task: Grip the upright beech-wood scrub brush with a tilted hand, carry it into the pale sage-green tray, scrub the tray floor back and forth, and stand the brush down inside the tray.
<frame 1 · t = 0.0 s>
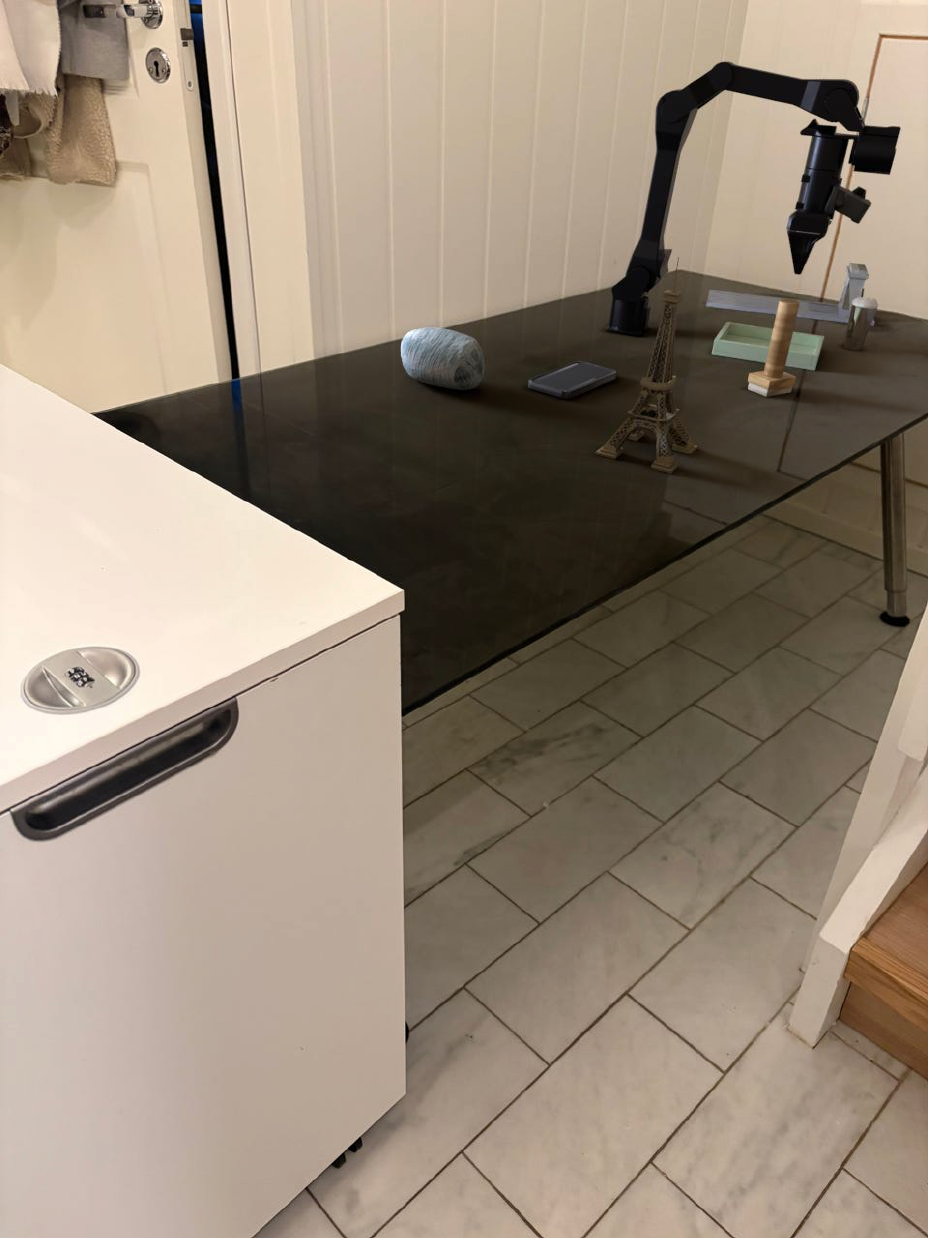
hand: (800, 268, 162), 15 cm above the table, tool pointing down, fingers open, 9 cm apart
tray: (767, 352, 170), on the table
phone: (572, 383, 150), on the table
eiffel tower: (646, 452, 128), on the table
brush: (769, 390, 152), on the table
monument: (787, 309, 198), on the table
milkshake: (851, 348, 176), on the table
blue yarn skein: (441, 385, 147), on the table
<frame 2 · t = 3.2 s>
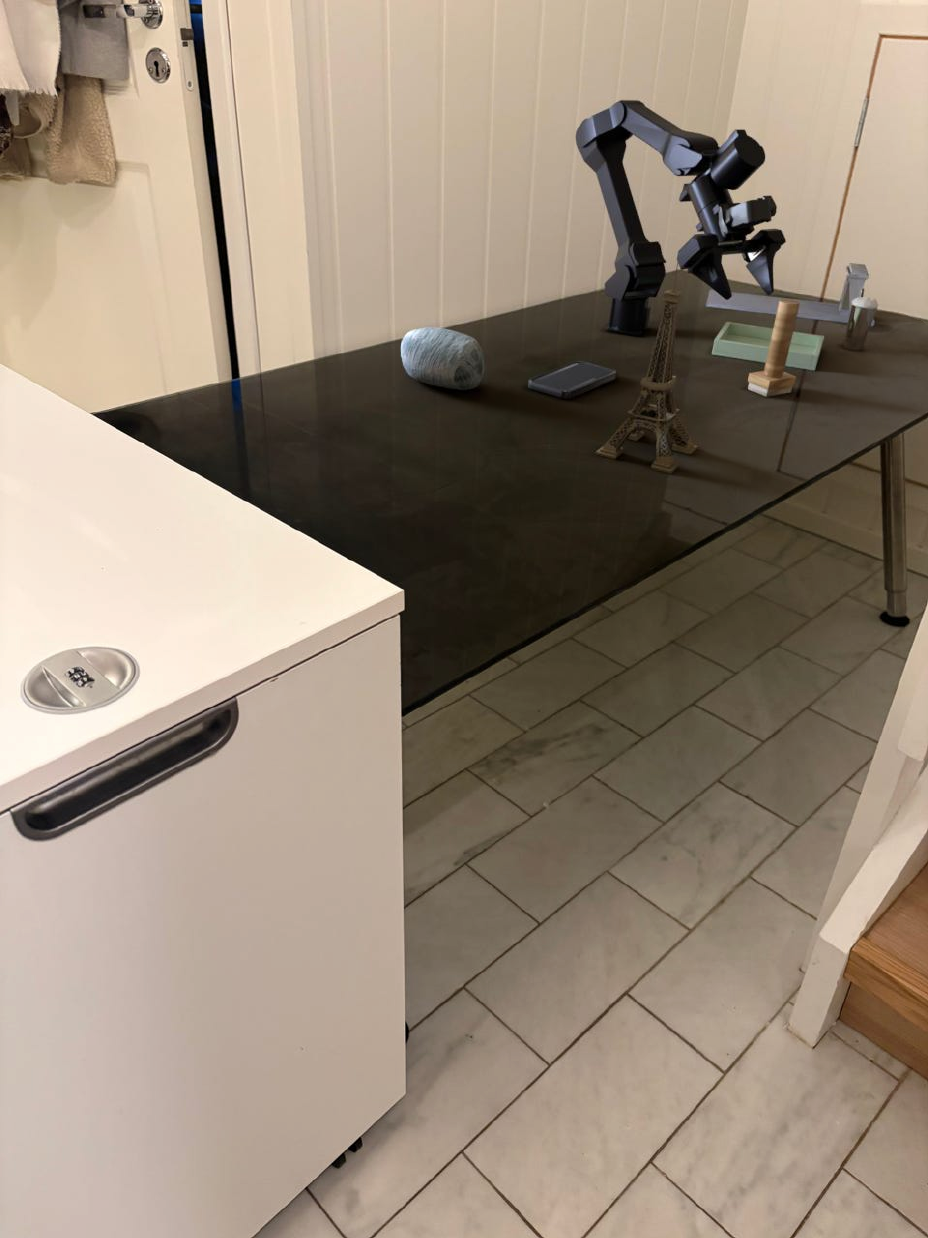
hand: (750, 295, 151), 13 cm above the table, tool tilted 45°, fingers open, 9 cm apart
nothing on the table moved.
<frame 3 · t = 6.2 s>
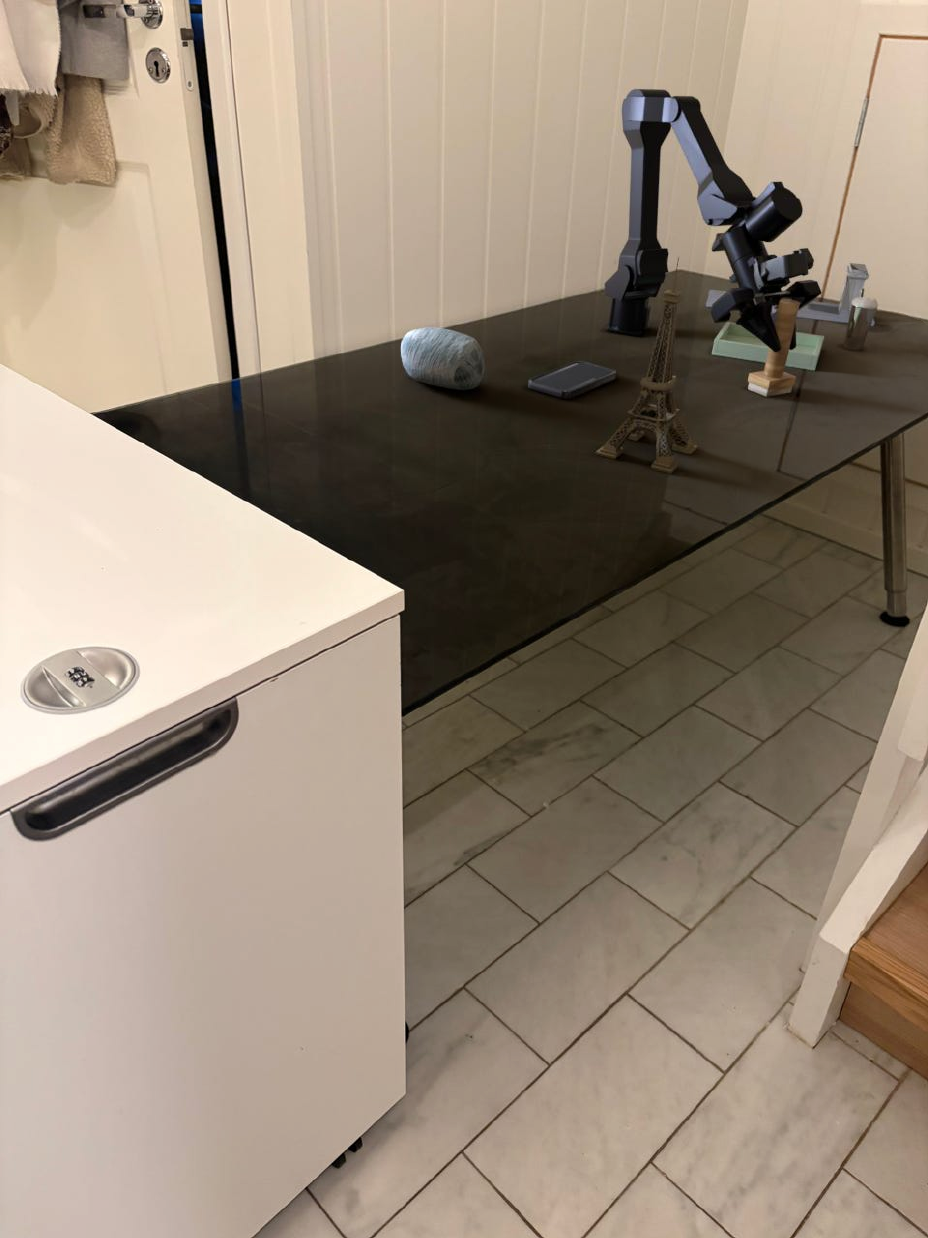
hand: (785, 349, 147), 7 cm above the table, tool tilted 45°, fingers closed on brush, 3 cm apart
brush: (769, 390, 152), on the table, touching gripper
everything else where it was.
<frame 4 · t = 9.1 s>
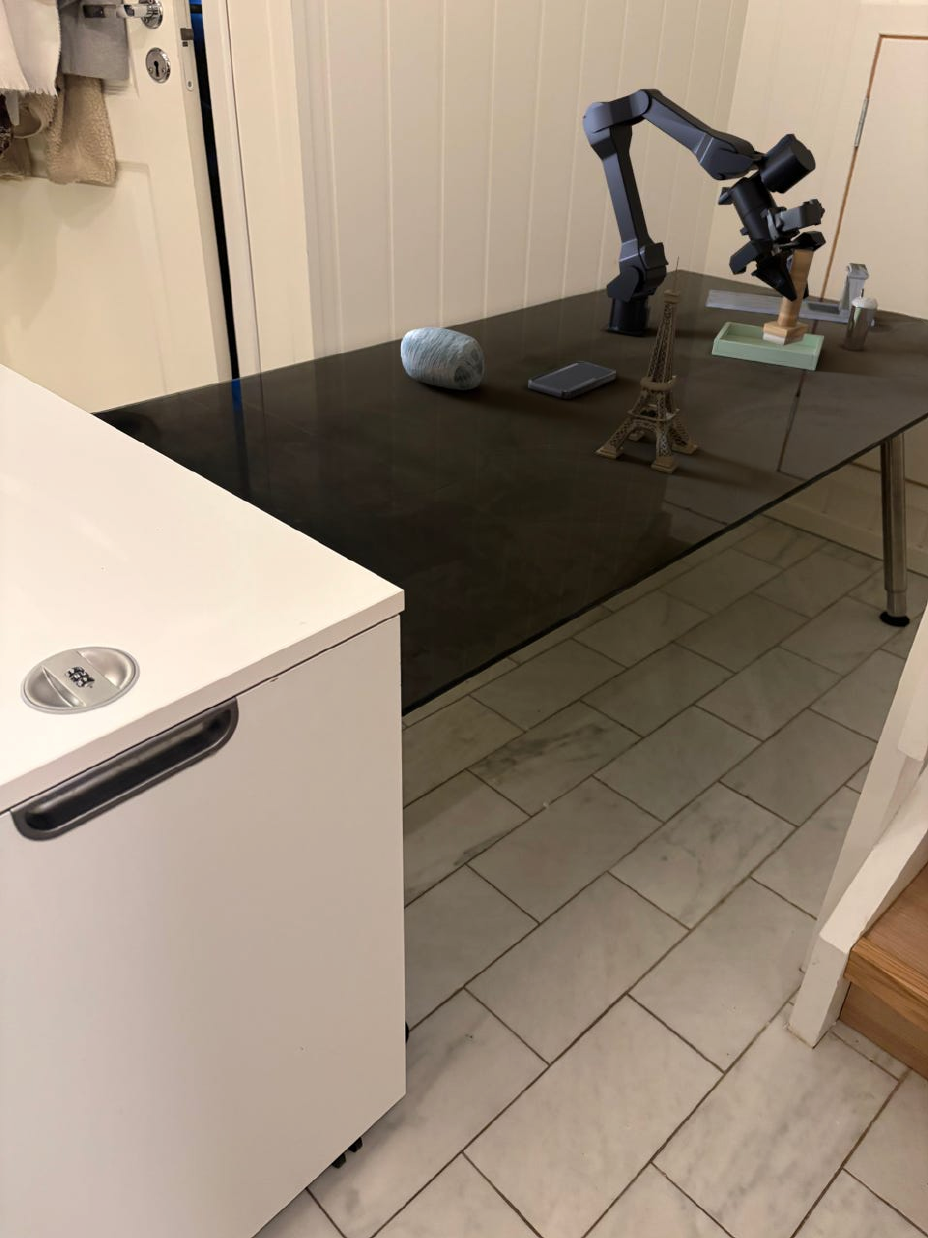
hand: (800, 298, 152), 13 cm above the table, tool tilted 45°, fingers closed on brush, 3 cm apart
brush: (782, 339, 157), point 6 cm above the table, touching gripper
everything else where it was.
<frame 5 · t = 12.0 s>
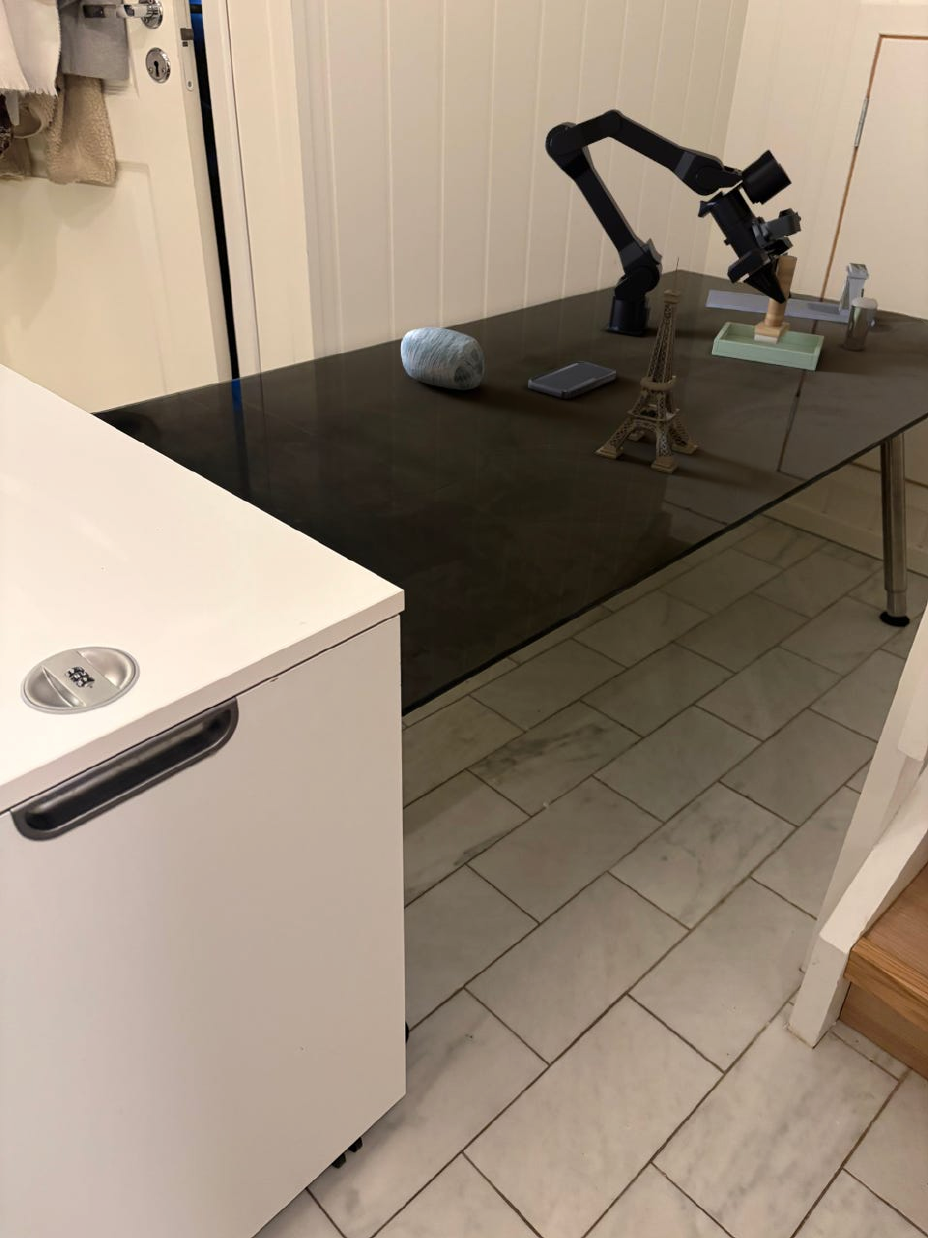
hand: (786, 300, 165), 9 cm above the table, tool tilted 45°, fingers closed on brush, 3 cm apart
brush: (769, 339, 169), point 2 cm above the table, touching gripper
everything else where it was.
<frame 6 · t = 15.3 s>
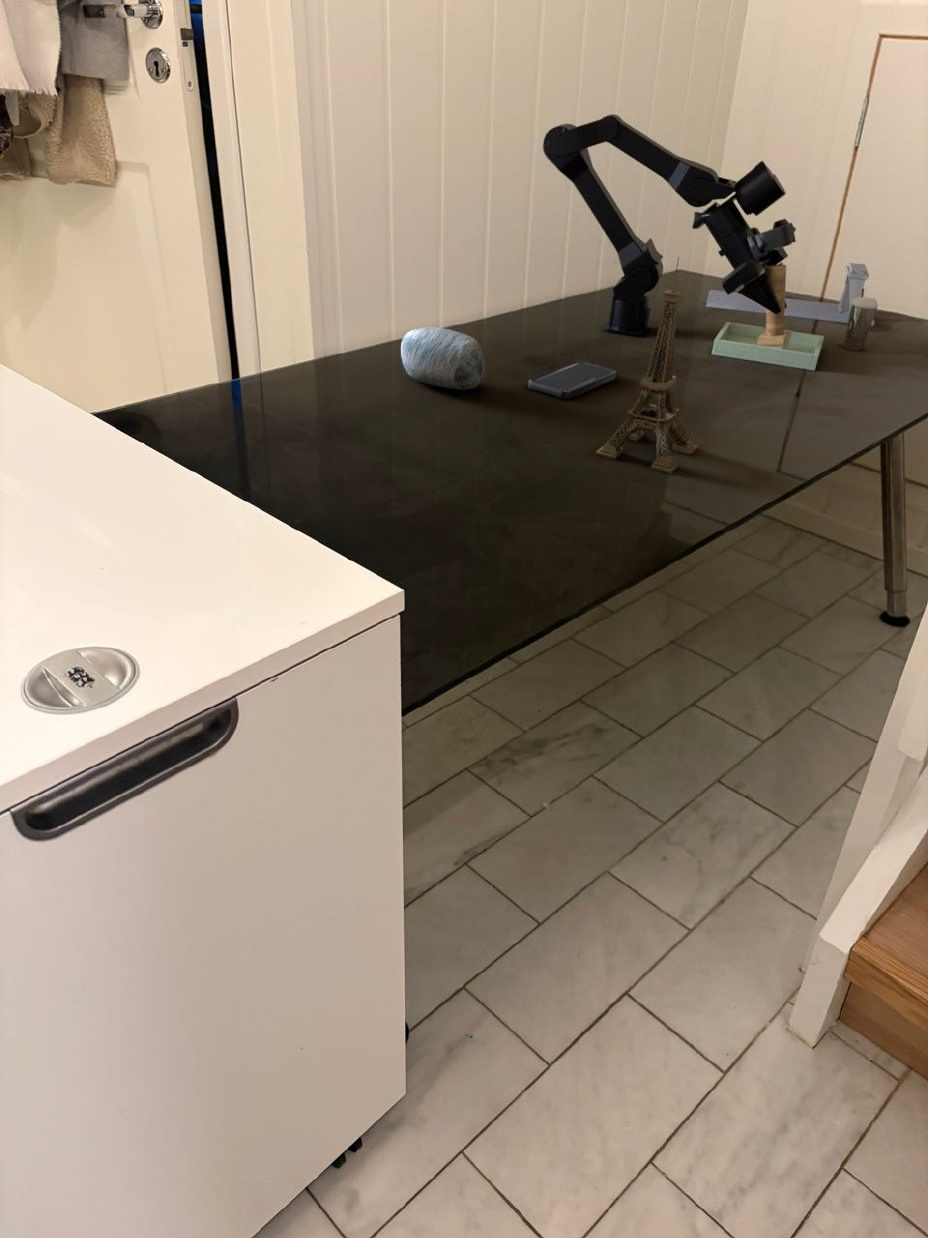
hand: (781, 310, 165), 8 cm above the table, tool tilted 45°, fingers closed on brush, 3 cm apart
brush: (774, 348, 169), point 1 cm above the table, tilted 11°, touching gripper
everything else where it was.
when the fingers open (8 cm above the table, at t = 17.9 s): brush stays where it is, resting on tray.
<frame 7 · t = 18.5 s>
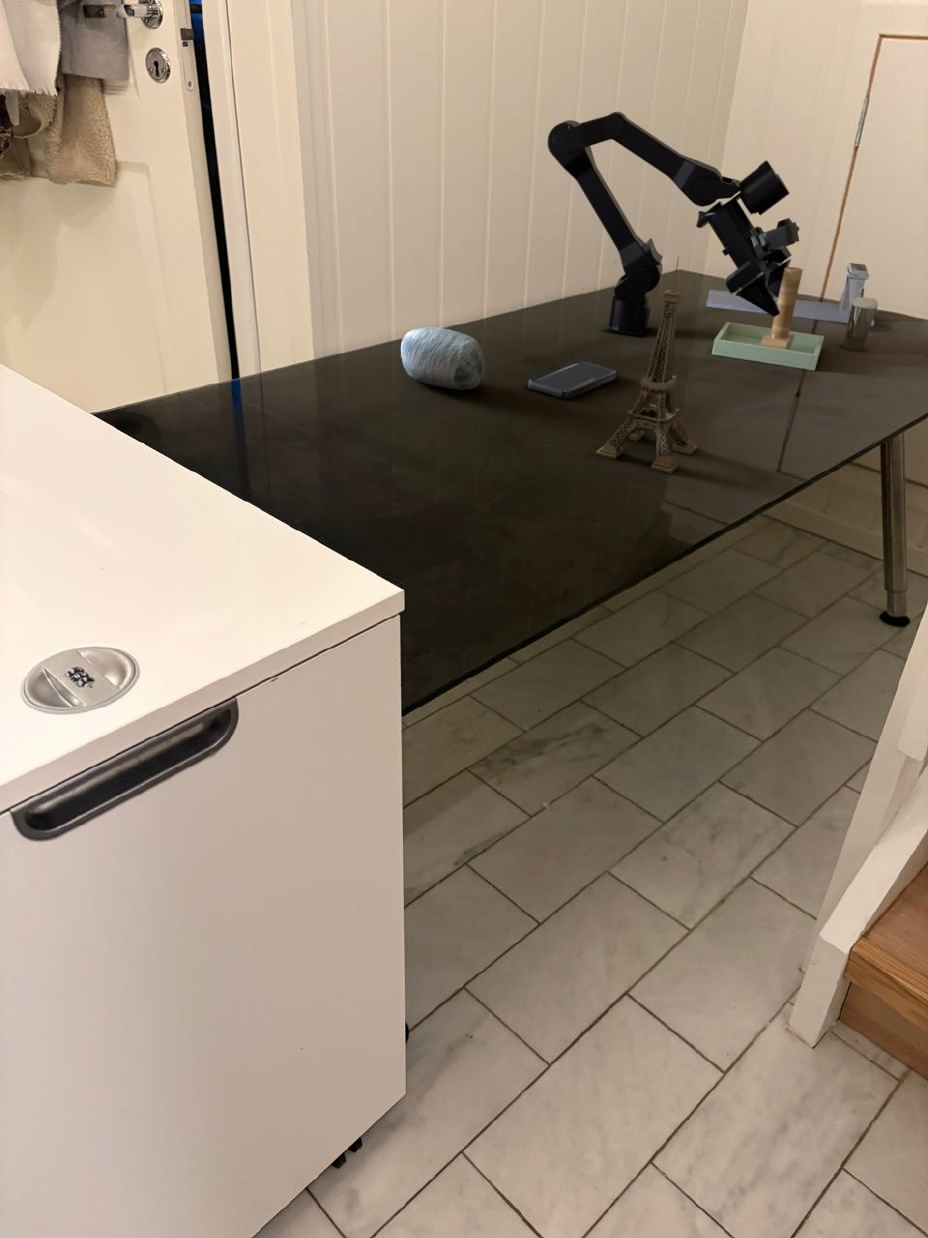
hand: (785, 309, 165), 8 cm above the table, tool tilted 45°, fingers open, 9 cm apart
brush: (775, 350, 169), point 1 cm above the table, touching tray
everything else where it was.
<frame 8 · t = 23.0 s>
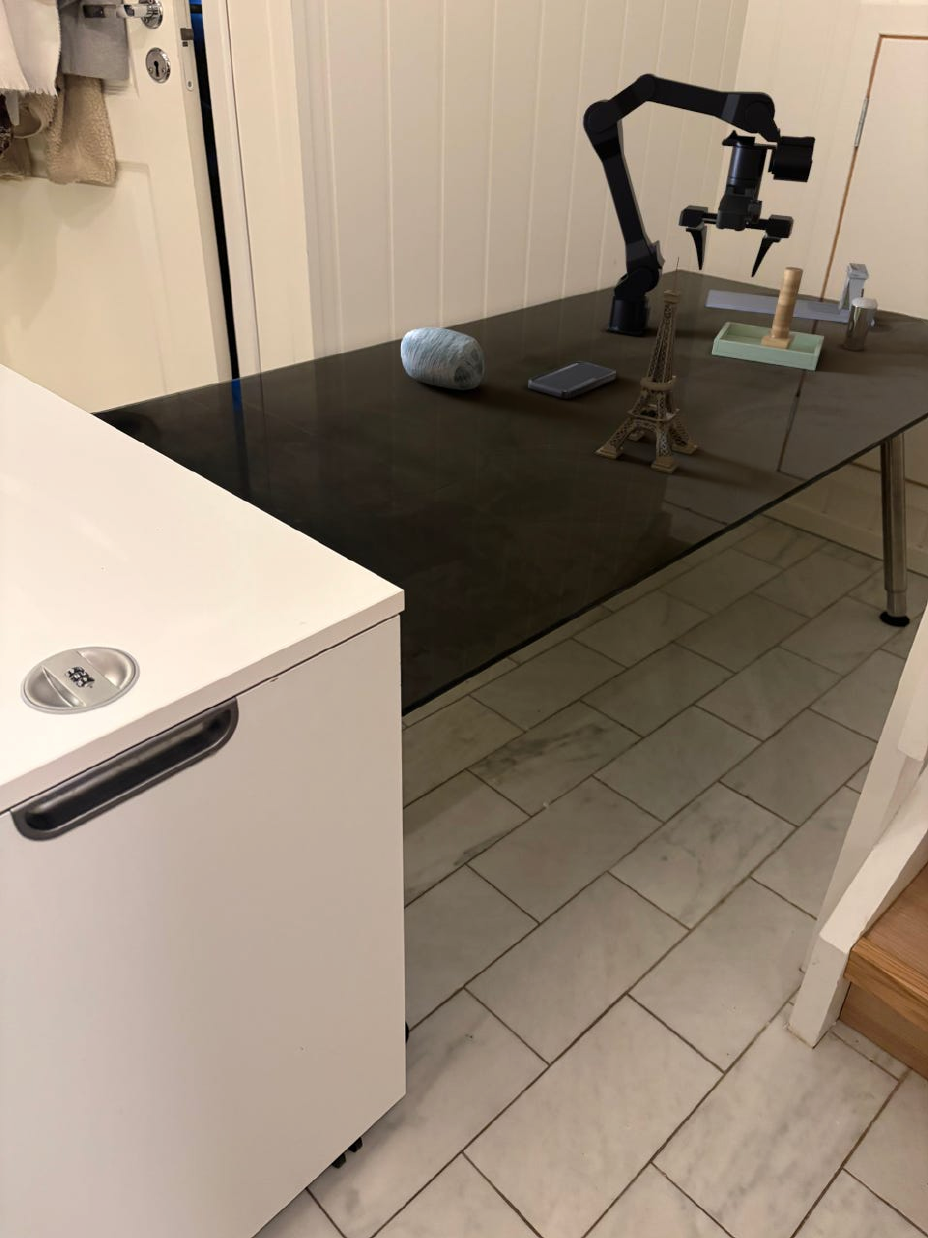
hand: (726, 273, 168), 12 cm above the table, tool pointing down, fingers open, 9 cm apart
nothing on the table moved.
at the end: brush inside the target area in the tray (1.4 cm from its centre), point 0.6 cm above the tray's base; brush tilted 0°; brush moved 21.8 cm from its start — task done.
